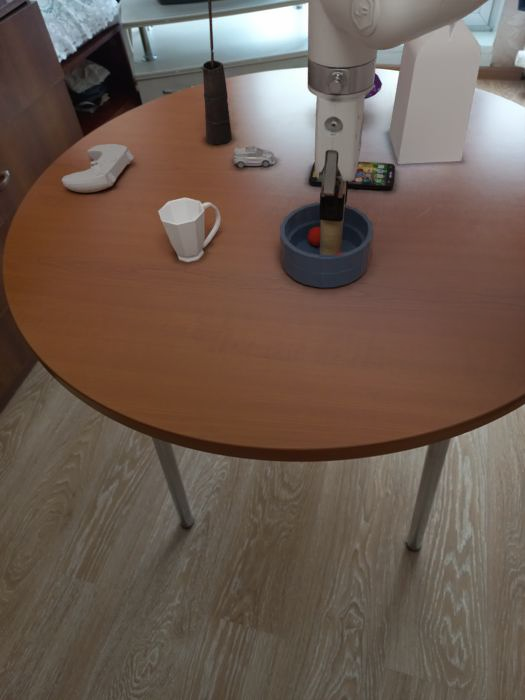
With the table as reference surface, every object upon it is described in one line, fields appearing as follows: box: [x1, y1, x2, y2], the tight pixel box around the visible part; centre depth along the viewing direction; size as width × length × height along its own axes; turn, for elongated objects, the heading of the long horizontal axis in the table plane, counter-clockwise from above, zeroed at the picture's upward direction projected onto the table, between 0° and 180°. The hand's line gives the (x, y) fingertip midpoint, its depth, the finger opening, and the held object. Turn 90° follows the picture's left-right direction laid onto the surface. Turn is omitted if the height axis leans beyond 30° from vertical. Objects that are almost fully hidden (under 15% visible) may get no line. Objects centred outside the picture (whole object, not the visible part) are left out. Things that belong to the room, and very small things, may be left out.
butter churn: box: [200, 0, 233, 146], centre depth 95 cm, size 9×10×28 cm
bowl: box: [279, 201, 375, 289], centre depth 77 cm, size 13×13×6 cm
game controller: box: [61, 143, 135, 194], centre depth 98 cm, size 14×4×10 cm
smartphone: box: [308, 160, 396, 191], centre depth 93 cm, size 8×1×15 cm
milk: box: [388, 18, 482, 165], centre depth 90 cm, size 12×12×26 cm
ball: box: [308, 227, 320, 246], centre depth 80 cm, size 3×3×3 cm
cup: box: [157, 197, 222, 263], centre depth 80 cm, size 7×10×8 cm
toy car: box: [233, 145, 276, 169], centre depth 98 cm, size 4×8×3 cm, turn 88°
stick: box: [320, 171, 346, 255], centre depth 72 cm, size 3×3×13 cm
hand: (333, 210), depth 72 cm, fingers closed on stick, 3 cm apart
